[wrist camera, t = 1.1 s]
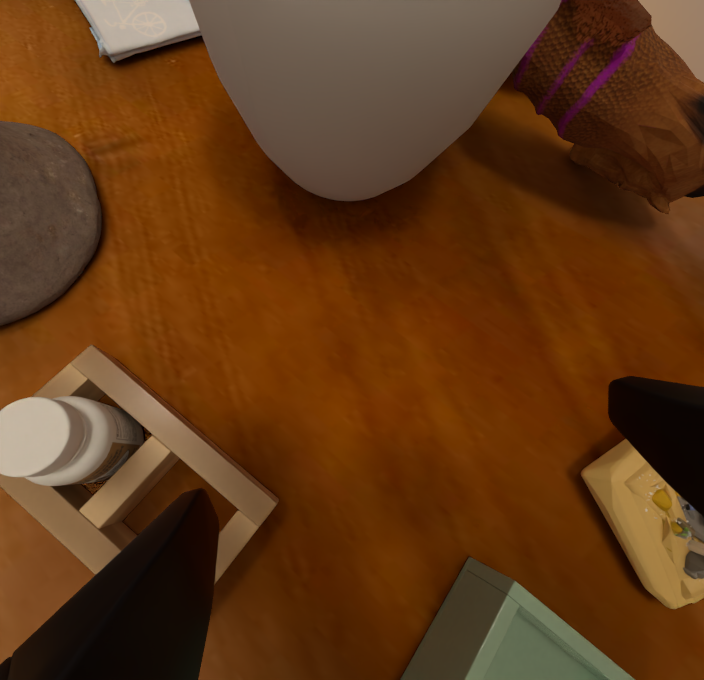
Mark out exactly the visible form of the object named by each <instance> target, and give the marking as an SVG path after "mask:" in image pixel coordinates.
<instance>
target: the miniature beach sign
mask: <svg viewBox="0 0 704 680" xmlns="http://www.w3.org/2000/svg"><path fill="white" fill-rule="evenodd" d="M581 476H582V478H583V479H584V481H585V483H586V485H587V487H588V488H589V490H590V492H591V494H592V495H593V497H594V499H595V501H596V503H597V504H598V506H599V508H600V510H601V511H602V513H603V515H604V517H605V519H606V520H607V522H608V524H609V526H610V527H611V529H612V531H613V533H614V535H615V536H616V538H617V540H618V542H619V543H620V545H621V547H622V549H623V551H624V552H625V554H626V556H627V558H628V559H629V561H630V563H631V565H632V567H633V568H634V570H635V572H636V574H637V575H638V577H639V579H640V581H641V583H642V584H643V586H644V588H645V589H646V590H647V591H648V592H650V593H651V594H652V595H653V596H654V597H655V598H657V599H658V600H659V601H660V602H661V603H662V604H664V605H665V606H666V607H668V608H671V609H677V608H680V607H682V606H684V605H687V604H689V603H696V602H698V601H699V600H701V599H702V598H704V517H703V516H702V515H701V514H700V513H698V512H697V511H696V510H695V509H694V508H693V507H692V506H691V505H690V504H689V503H688V502H687V501H685V500H684V499H683V498H682V497H681V496H680V495H679V494H678V493H677V492H676V491H675V490H674V489H673V488H672V487H671V486H669V485H668V484H667V483H666V482H665V481H664V480H663V479H662V477H661V476H660V475H659V474H658V473H657V472H656V471H655V470H654V469H653V468H652V467H651V466H650V465H649V463H648V462H647V461H646V460H645V459H644V458H643V457H642V456H641V455H640V454H639V452H638V451H637V450H636V449H635V448H634V447H633V446H632V445H631V444H630V443H629V441H628V440H627V439H625V440H623V441H622V442H620V443H619V444H618V445H616V446H615V447H613V448H612V449H611V450H609V451H608V452H606V453H605V454H604V455H602V456H601V457H599V458H598V459H597V460H595V461H594V462H592V463H591V464H589V465H588V466H587V467H585V468H584V469H583V470H582V471H581Z"/></svg>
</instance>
